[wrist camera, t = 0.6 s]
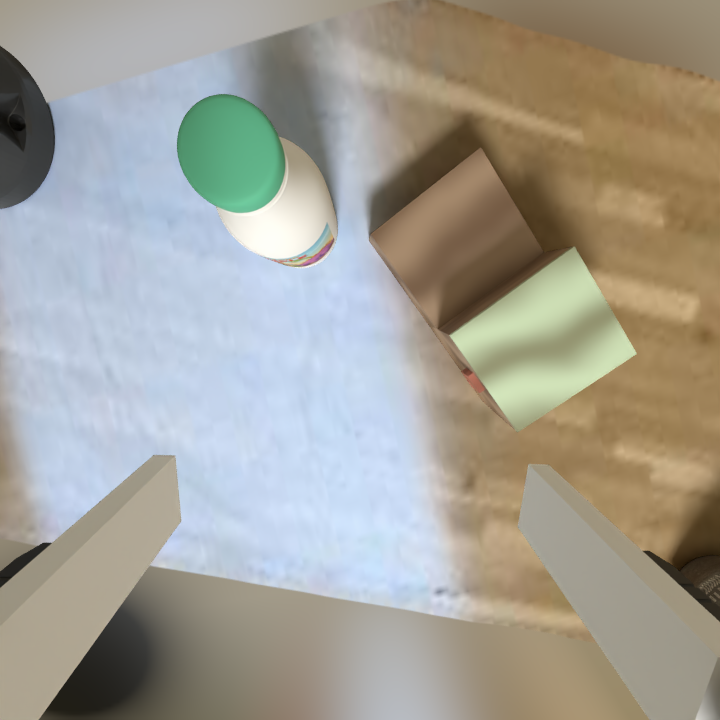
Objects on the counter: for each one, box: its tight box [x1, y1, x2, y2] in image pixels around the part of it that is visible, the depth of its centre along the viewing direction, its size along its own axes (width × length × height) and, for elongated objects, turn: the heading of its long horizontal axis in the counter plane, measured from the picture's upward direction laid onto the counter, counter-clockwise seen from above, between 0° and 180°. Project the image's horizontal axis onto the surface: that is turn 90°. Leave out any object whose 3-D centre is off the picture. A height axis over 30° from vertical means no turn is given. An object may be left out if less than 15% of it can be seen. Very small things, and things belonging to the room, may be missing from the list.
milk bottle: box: [177, 94, 338, 268], centre depth 24 cm, size 8×8×20 cm
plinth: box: [369, 147, 637, 432], centre depth 31 cm, size 22×13×8 cm, turn 37°
